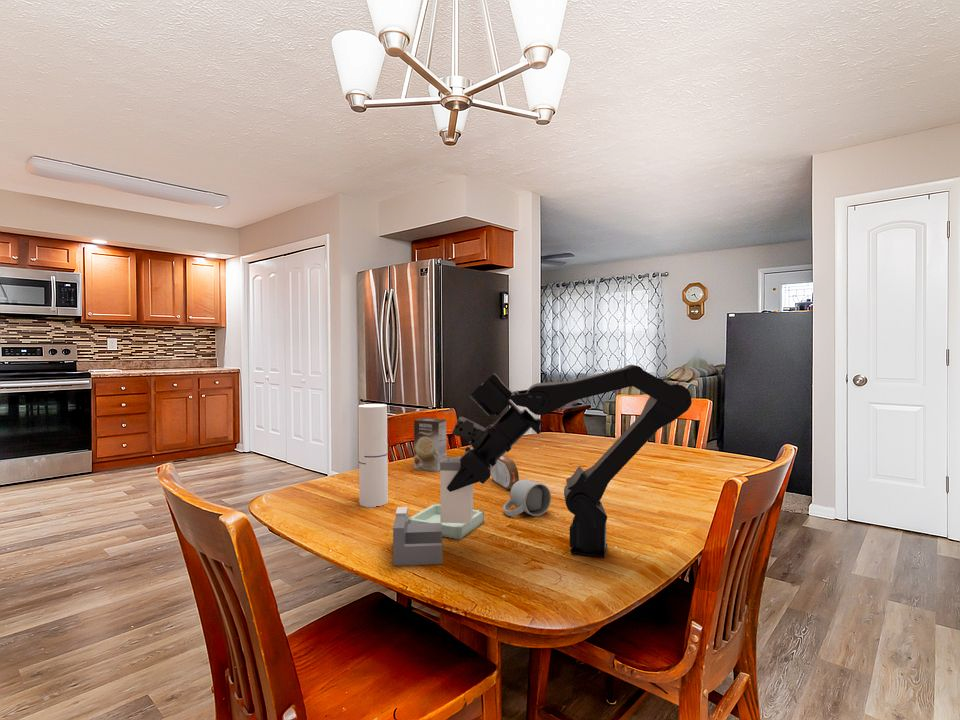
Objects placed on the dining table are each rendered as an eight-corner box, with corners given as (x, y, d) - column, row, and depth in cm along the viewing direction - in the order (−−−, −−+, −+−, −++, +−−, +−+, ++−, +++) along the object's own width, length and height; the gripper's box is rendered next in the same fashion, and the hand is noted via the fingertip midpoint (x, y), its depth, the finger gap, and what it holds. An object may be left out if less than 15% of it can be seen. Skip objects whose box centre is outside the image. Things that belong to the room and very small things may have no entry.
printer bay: (441, 539, 111) (441, 504, 111) (442, 564, 99) (442, 524, 98) (398, 540, 110) (397, 505, 110) (393, 565, 98) (392, 526, 98)
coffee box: (412, 469, 171) (412, 419, 171) (422, 465, 177) (422, 417, 176) (438, 472, 168) (438, 421, 167) (447, 467, 174) (447, 418, 173)
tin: (519, 492, 146) (519, 461, 145) (509, 493, 145) (509, 462, 144) (497, 478, 160) (497, 451, 159) (488, 479, 159) (488, 451, 158)
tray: (484, 521, 122) (484, 511, 122) (459, 539, 111) (459, 527, 111) (434, 514, 127) (434, 503, 127) (406, 530, 116) (406, 519, 116)
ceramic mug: (531, 504, 135) (531, 474, 134) (551, 513, 128) (551, 481, 127) (496, 512, 129) (495, 480, 129) (515, 521, 122) (514, 488, 122)
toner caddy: (473, 515, 110) (473, 457, 109) (470, 523, 105) (470, 462, 104) (444, 514, 110) (444, 456, 110) (440, 522, 105) (440, 462, 105)
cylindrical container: (381, 508, 132) (380, 407, 131) (354, 506, 133) (353, 406, 132) (392, 499, 139) (391, 404, 138) (366, 498, 140) (365, 403, 139)
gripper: (480, 398, 115) (430, 448, 117) (471, 409, 97) (412, 468, 98) (516, 435, 115) (466, 484, 116) (515, 453, 96) (454, 512, 98)
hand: (450, 486), depth 107 cm, fingers closed on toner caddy, 5 cm apart
